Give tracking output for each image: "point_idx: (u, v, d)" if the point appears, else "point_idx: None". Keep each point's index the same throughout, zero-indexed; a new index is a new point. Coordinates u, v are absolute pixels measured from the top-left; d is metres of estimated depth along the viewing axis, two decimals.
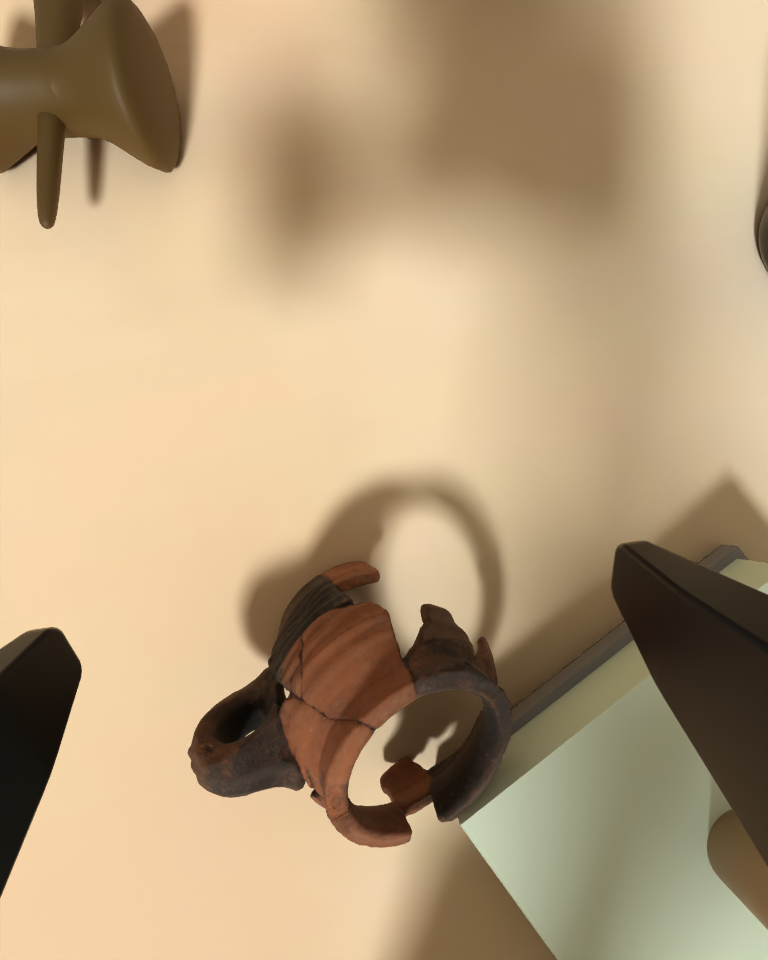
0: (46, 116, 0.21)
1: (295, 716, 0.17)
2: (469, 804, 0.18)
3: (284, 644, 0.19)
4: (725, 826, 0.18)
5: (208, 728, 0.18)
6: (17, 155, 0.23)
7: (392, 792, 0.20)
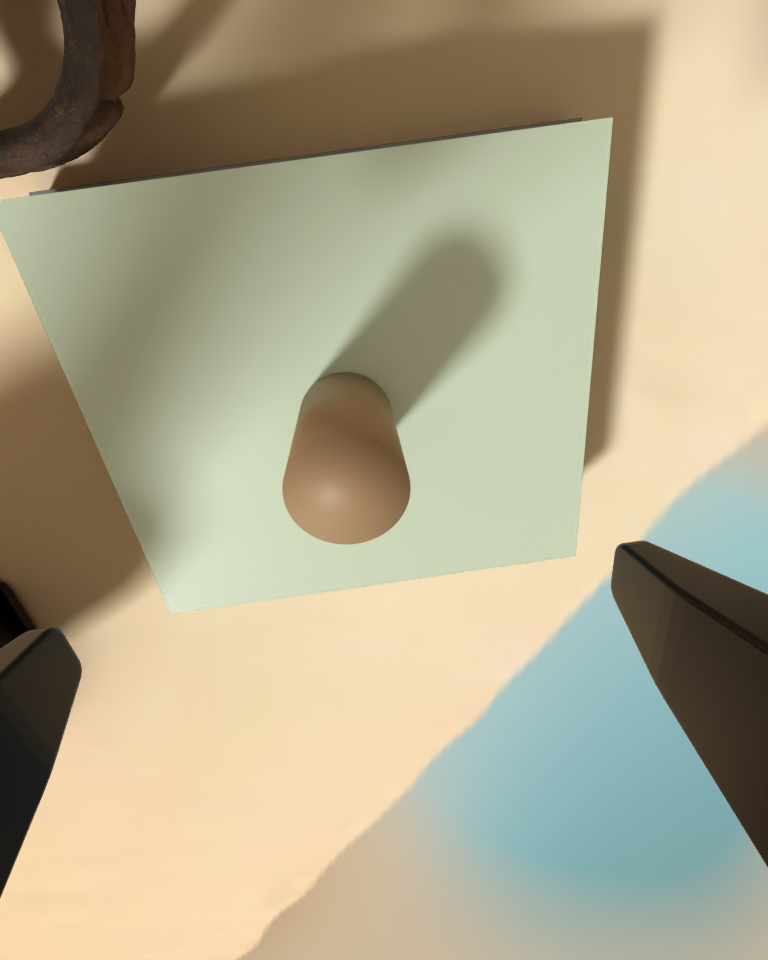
0: None
1: None
2: (15, 169, 0.12)
3: None
4: (331, 377, 0.15)
5: None
6: None
7: None
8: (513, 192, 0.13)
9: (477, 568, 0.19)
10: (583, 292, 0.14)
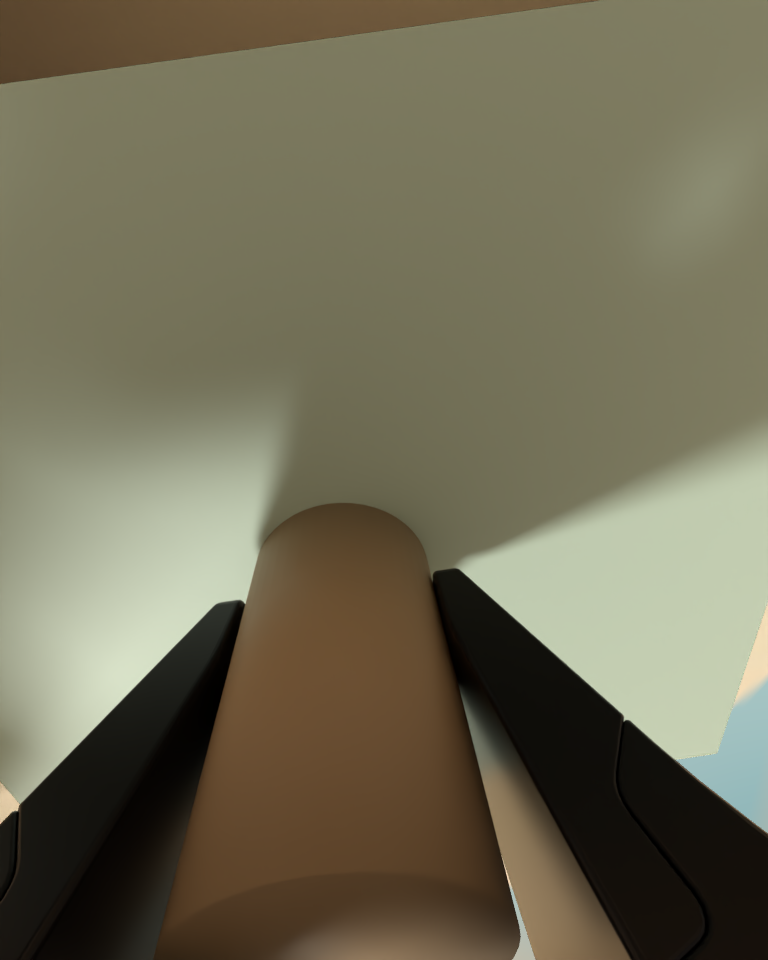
0: None
1: None
2: None
3: None
4: (313, 521, 0.07)
5: None
6: None
7: None
8: (719, 137, 0.06)
9: None
10: None
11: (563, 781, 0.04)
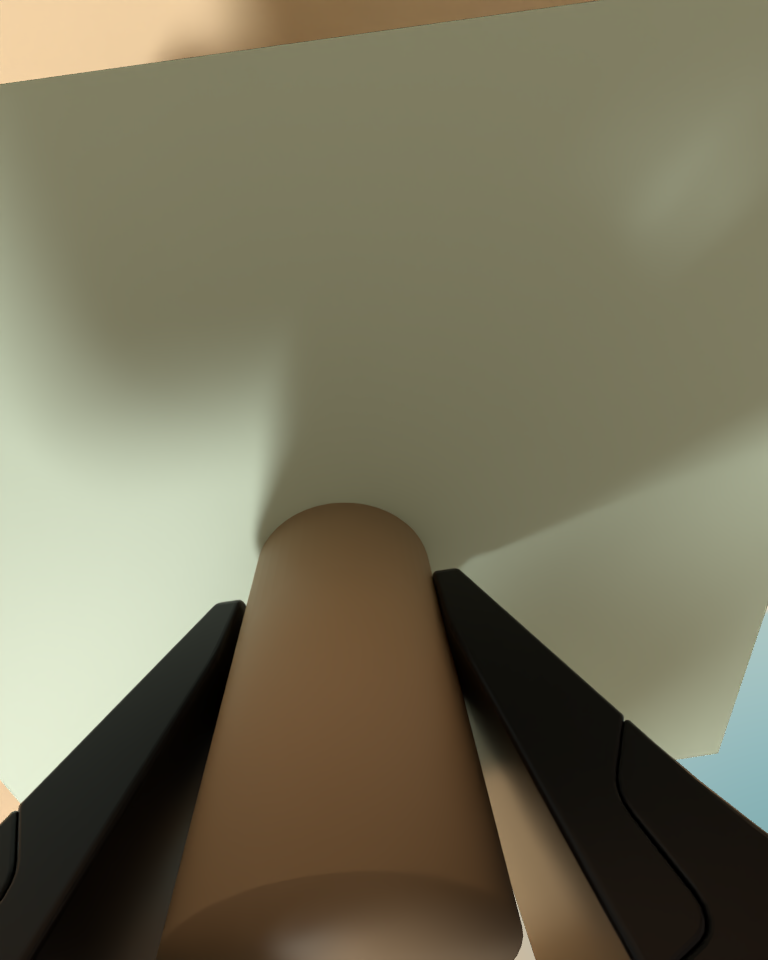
0: None
1: None
2: None
3: None
4: (315, 521, 0.07)
5: None
6: None
7: None
8: (721, 137, 0.06)
9: None
10: None
11: (562, 781, 0.04)
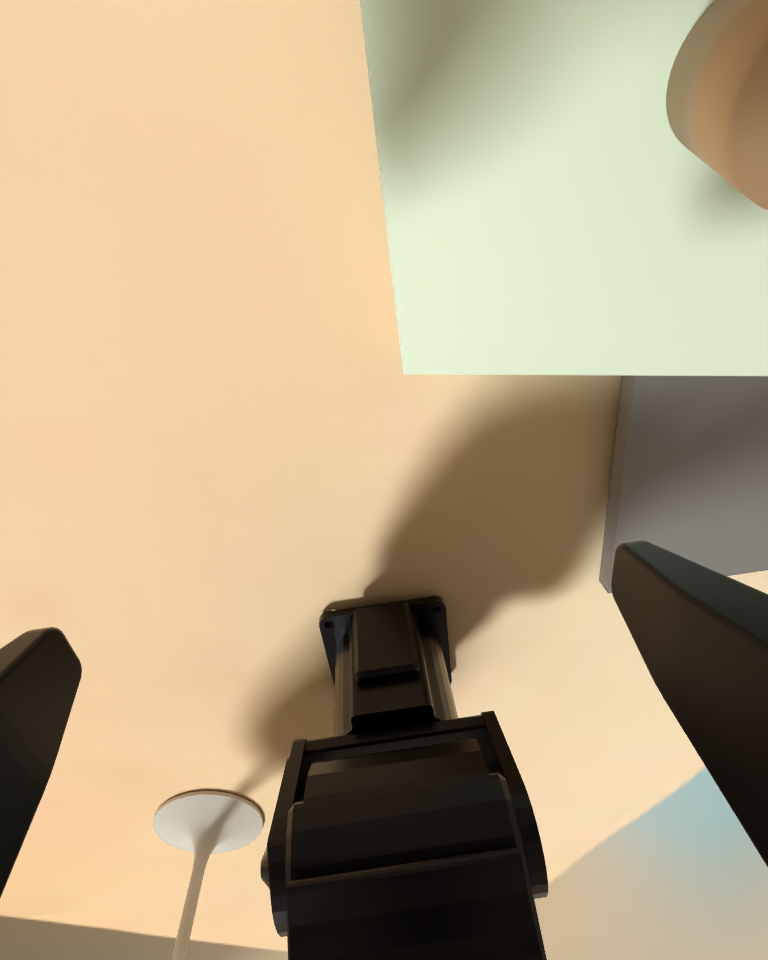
0: None
1: None
2: None
3: None
4: None
5: None
6: None
7: None
8: None
9: None
10: None
11: None
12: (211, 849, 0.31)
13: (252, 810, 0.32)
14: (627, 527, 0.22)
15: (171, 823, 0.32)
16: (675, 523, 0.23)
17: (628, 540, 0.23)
